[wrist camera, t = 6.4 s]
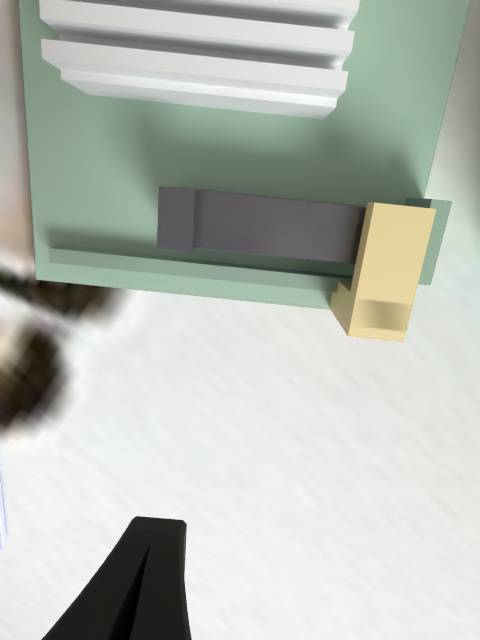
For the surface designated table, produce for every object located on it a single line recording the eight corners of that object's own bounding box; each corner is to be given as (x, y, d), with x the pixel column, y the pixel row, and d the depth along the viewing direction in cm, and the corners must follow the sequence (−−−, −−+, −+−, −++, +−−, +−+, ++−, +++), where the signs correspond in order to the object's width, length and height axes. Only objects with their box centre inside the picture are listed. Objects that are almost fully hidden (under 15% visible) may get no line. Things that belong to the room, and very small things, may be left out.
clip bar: (174, 236, 17) (156, 248, 14) (176, 186, 16) (158, 186, 13) (387, 259, 17) (418, 275, 14) (398, 209, 16) (433, 215, 13)
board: (45, 275, 18) (-16, 301, 14) (27, -46, 15) (-63, -140, 10) (390, 311, 18) (430, 347, 14) (461, 0, 15) (545, -74, 10)
